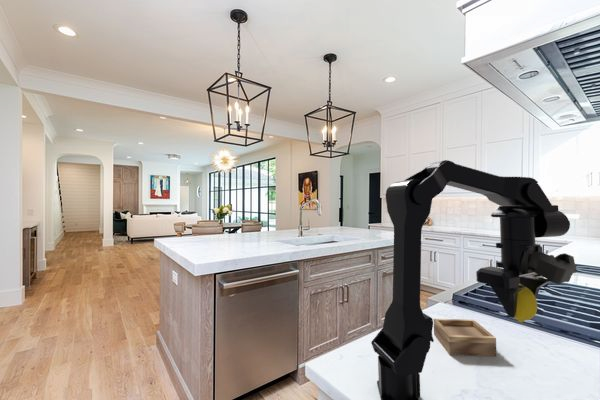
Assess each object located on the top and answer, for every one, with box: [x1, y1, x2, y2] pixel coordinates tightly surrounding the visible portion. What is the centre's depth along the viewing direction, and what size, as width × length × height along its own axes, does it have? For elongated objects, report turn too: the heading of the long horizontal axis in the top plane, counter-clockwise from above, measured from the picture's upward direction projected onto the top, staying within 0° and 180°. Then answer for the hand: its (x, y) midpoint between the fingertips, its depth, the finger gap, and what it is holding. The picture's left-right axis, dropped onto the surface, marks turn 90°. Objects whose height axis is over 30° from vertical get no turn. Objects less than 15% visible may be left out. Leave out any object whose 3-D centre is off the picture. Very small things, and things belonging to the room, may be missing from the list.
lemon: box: [514, 284, 538, 323], centre depth 58 cm, size 6×6×8 cm
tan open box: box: [433, 318, 498, 358], centre depth 69 cm, size 10×10×4 cm
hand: (520, 314), depth 58 cm, fingers closed on lemon, 5 cm apart
